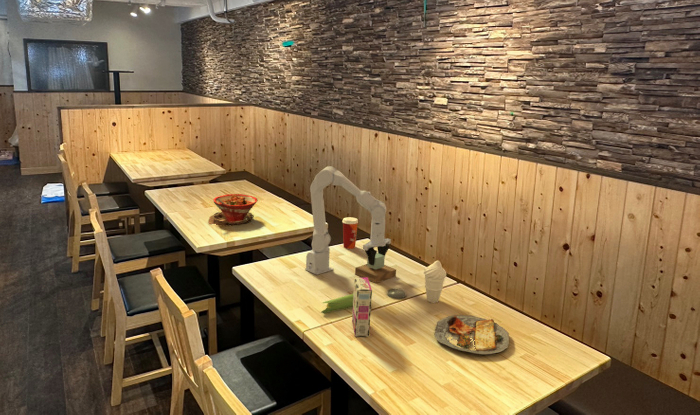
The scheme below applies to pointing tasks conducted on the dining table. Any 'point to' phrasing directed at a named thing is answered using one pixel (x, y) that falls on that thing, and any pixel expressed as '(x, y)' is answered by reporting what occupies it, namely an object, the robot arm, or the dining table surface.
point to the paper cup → (349, 232)
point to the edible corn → (339, 303)
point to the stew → (233, 209)
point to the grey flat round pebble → (396, 293)
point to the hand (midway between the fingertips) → (376, 263)
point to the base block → (375, 273)
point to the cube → (377, 261)
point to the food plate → (483, 332)
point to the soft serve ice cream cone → (434, 281)
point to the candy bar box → (361, 306)
